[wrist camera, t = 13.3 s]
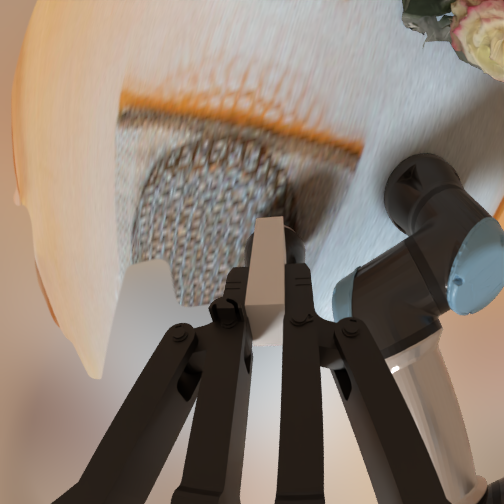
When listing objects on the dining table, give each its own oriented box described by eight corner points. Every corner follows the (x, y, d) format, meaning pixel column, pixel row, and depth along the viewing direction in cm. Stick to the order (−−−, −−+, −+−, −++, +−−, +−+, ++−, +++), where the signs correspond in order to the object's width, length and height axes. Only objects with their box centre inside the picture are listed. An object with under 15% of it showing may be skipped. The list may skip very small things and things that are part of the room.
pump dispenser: (234, 230, 52) (221, 290, 40) (287, 204, 48) (289, 262, 36) (263, 269, 57) (259, 331, 44) (312, 248, 53) (321, 310, 41)
